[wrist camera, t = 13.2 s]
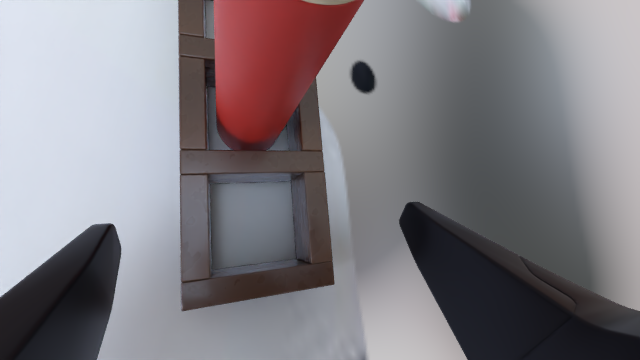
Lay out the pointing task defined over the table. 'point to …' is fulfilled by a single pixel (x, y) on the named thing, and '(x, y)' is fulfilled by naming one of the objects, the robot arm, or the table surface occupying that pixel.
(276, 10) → the red cylinder
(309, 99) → the brown wooden rack
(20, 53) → the table surface
